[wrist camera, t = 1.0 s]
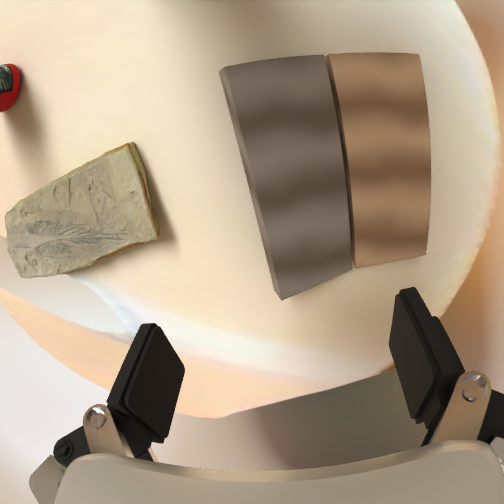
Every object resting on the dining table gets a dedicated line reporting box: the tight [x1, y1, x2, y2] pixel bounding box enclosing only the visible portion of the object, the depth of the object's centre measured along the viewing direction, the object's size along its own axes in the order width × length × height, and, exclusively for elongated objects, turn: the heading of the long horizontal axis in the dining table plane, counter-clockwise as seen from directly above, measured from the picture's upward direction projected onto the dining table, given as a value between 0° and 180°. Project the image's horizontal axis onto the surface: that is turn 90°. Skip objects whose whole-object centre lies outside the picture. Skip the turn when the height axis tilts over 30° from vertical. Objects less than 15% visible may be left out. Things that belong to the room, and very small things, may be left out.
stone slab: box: [5, 142, 160, 278], centre depth 30 cm, size 12×4×30 cm
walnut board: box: [325, 53, 431, 268], centre depth 24 cm, size 22×9×2 cm, turn 13°
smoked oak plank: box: [219, 55, 352, 300], centre depth 24 cm, size 22×9×2 cm, turn 13°
